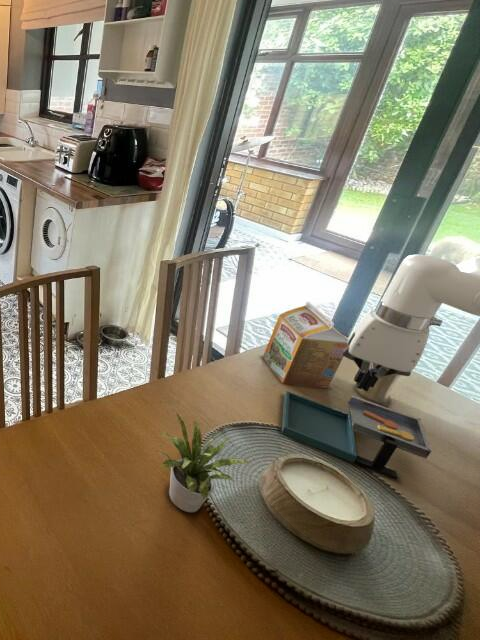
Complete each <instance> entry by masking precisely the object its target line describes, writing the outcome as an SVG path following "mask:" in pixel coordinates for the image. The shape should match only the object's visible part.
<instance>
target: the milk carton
mask: <svg viewBox="0 0 480 640" xmlns="http://www.w3.org/2000/svg"><path fill="white" fill-rule="evenodd" d="M334 326H335V323H334V321H332V320H331V319H330V318H329V317H327V315H325V314H324V313H323V312H322V311H321V310H319V309H318V308H317V307H316V306H315V305H314V304H312V303H311V302H310V301H306V303H305V305H303V306H299V307H296V308H295V307H294V308H292V309H289V310H286V311H284V312H283V313H281V314H279V315H278V318H277V320H276V323H275V325H274V328H273V330H272V333H271V335H270V338H269V340H268V343H267V345H266V347H265V350H264V353H263V356H262V358H263V360H264V361H265V363H267V365H268V366H269V367H270V369H271V370H272V371H273V372H274V374H275V375H276V376H277V378H278V379H279V380H280V381H281V383H282V384H288V385H296V386H305V387H315V388H324V389H328V388H329V386H330V385H331V383H332V381H333V379H334V378H335V375H336V373H337V371H338V369H339V366H340V365H341V363H342V360H343V358H344V357H345V356H343V354H342V351H343V350H344V349H345V348H346V347H347V346H348V345H347V342H348V338H347V337H346V336H345V335H344V334H342V333H341V332H340V331H339V330H338V329H336V328H335V327H334Z"/></svg>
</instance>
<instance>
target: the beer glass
mask: <svg viewBox="0 0 480 640" xmlns="http://www.w3.org/2000/svg"><path fill="white" fill-rule="evenodd" d="M376 365H377V364H375V363H372V362H371V364H370V367H369V370H370V369H372V368H374V367H375V366H376ZM405 377H406V376H403V375H396V374H392V375H387V376H383V377H382V378H379V379H378V380H377V382H376V384H375V385H374V387H373V388H372V387H370V388H369V389H368V391H364V390H363V388H362V389H359V388H357V387H356V391H357V392H358V394H359V395H361V396H362V397H364V398H366V399H368V400H369V401H371V402H374V403H378V402H379V403H382V404H386V403H388V402H390V398H391V394H392V391H393V390H394V389H395V387H396V386H397V385H398V384H400V383H401V381H402V380H403V379H404V378H405Z"/></svg>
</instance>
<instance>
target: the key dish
mask: <svg viewBox="0 0 480 640" xmlns="http://www.w3.org/2000/svg"><path fill="white" fill-rule="evenodd" d="M347 404H348V405H347V406H348V413H349V414H350V420H351V428H352V431H354V433H357V434H360V435H362V436H365V437H368V438H371V439H373V440H377V441H378V442H381V443H384V442H385V440H386V439H389V440H391V441H394V442H397V444H398V447H397V448H396V449H399V450H401V451H405V452H407V453H410V454H413V455H415V456H418V457H419V458H423V459H425V460H427V459H428V457H429V456H430V454H431V453H432V449H431V446H430V443H429V440H428V436H427V434H426V431H425V428H424V425H423V422H422V419H421V418H418V417H415V416H412V415H409V414H406V413H403V412H401V411H398V410H395V409H392V408H386V407H384V406H381V405H378V403H376V402H373V401H370V400H366V399H363V398H360V397H357V396H355V395H351V396H350V398H349V400H348V402H347ZM365 410H366V411H369V412H371V413H373V414H375V415H377V416H379V417H381V418H384V419H386V420H391V421H393V422H395V423H396V424H397V425H398V426H399V427H398V429H394V430H397V431H401V430H402V431H406V432H408V433H410V434H411V435H413V437H414V439H413V440H412V441H410V440H406V439H404V438H402V437H401V436H398V435H395V434H391V433H388V432H384V431H381V430H379V429H378V427H377V426H378V425H380V426H383V427H387V428H390V427H388V426H386V425H385V424H384V423H382V422H380V421H378V420H376V419H374V418H372V417H370V416H368V415H365V414H363V413H364V411H365ZM390 429H392V428H390Z"/></svg>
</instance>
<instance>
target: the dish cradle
mask: <svg viewBox="0 0 480 640" xmlns="http://www.w3.org/2000/svg"><path fill="white" fill-rule="evenodd" d="M377 404H378V405H381V406H384V407H386V408H389V405H387V404H386V403H379V402H377ZM389 409H390V408H389ZM382 443H383V442H382ZM397 447H398V444H397V442H394V441H391V440H389V439H386V440H385V442H384V443H383V444H382V445H381V447H380V448H379V450H378V451H377V453H376V455H375V456H374V458H373V460H370V459H367V458H365V457H362V456H360V455H357V457H356V459H355V463H356V465H358V466H361V467H362V468H365V469H368V470H371V471H372V472H375V473H377V474H380V475H382V476H385V477H387V478H389V479H392V480H395V481H397V480H398V478H399V476H398V472H397V470H395V469H392V468H390V467H387V466H386V465H387V464H388V462H389V460H390V459H391V457H392V456H393V454H394V453H395V451H396V450H397V449H398V448H397Z"/></svg>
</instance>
